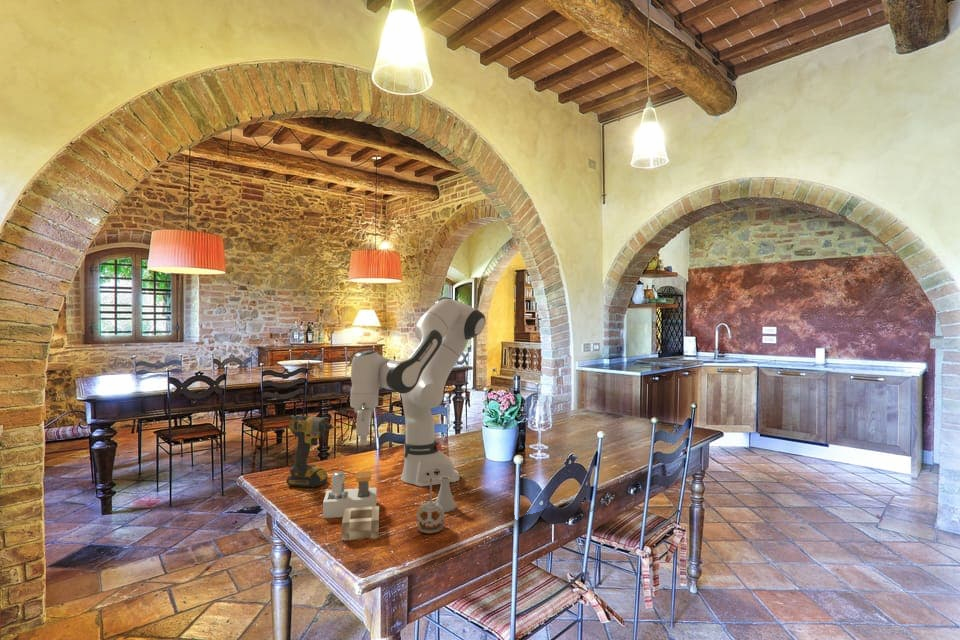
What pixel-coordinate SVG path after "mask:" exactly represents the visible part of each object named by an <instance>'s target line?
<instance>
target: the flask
mask: <svg viewBox="0 0 960 640" xmlns="http://www.w3.org/2000/svg"><path fill="white" fill-rule="evenodd" d="M440 480H441V484H440V488H439V491H438V494H437V497H436V500H435V503H439V505H441V507H442V509H443V511H444V513H449V512H452V511H453V512H454V511H455V509H456V508H457V504H456V502H455V500H454V497H453V494H452V491H451V486H450V483H449V480H450V477H445V476H444V477H441V478H440Z"/></svg>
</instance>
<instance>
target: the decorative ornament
mask: <svg viewBox="0 0 960 640" xmlns="http://www.w3.org/2000/svg"><path fill="white" fill-rule="evenodd" d="M435 502H436V500H435V501H433V485H432V478H430V485H429V501H426V502H424V503H423V504H421V505H420V506H419V508H418V510H417V512H416V522H418V523H417V525H416V529H418V530H417V531H419V532H421V533H425V534H434V533H438V532H440V531H442V530H443V529H444V528H445V523H443V522H444V521H445V512H444V511H443V509H442V507H441V505H439V503H435Z"/></svg>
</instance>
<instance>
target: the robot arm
mask: <svg viewBox="0 0 960 640" xmlns="http://www.w3.org/2000/svg"><path fill="white" fill-rule="evenodd" d="M485 325H486V315H485V314H484V313H483V312H481V310H479V309H475V308H474V307H472V306H471V305H469V304H467V303H465V302H461V301H458V300H455V299H452V298H451V297H449V296H448V297H446V296H443V297H440V298H438V299H437V300H436V301H435V303H434V304H433V305H432V306H431V307H430V308H429V309H427V311H425V312H424V313H423V314H422V315H421V316H420V318H419V319H418V320H417V322H416V323H415V326H414V331H415V332H414V333H415V336H416V337H417V339H418V340H419V342H420V343H419V344H418V346H417V347H416V348H415V349H414V350H413V352H411V355H410V356H409V357H408V358H407V359H404V360H401V361H398V360H394V359H389V358H388V357H385V356H383V355H381V354H379V352H377V350H373V349H371V350H370V349H369V350H363V351H359V352H357V353H355V354H354V355H353V357H352V360H351V365H350V380H351V388H350V398H349V401H350V402H349V403H350V408H352V409H354V411H353V412H354V413H356V436H357V437H360V445H363V446H364V445H367V442H368V437H369V435H370V430H371V429H370V428H371V421H372V414H373V413H374V412H375V408H377V407H379V391H380V390H379V389H380V388H383V389H386V390H391V391H393V392H396V393H398V394H400V396H401V400H402V407H403V415H404V420H405V441H404V444H403V455H404V464H403V468H402V474H401V477H400V480H401V481H402V482H404V483H406V484H411V485H415V486H417V487H427V486H429V487H430V478H432V486H434V485H441V480H440V478H441V477H444V476H445V477H450V480H449V484H451V483H457V482H458V481H460V473H459V472H458V470H456V469H455V468H454V463H453V461H452V459H451V458H450V457H449V456H448V455H446V454H445V453H443V451H441V450H442V448H443V447H442V444H441V443H440V442H438V441H437V440H435V420H434V417H433V415H432V410H431V409H435V408H437V407H439V406H440V404H442V402H443V399H444V388H445V385H446V383H447V380H448V378H449V376H450V374H451V372H452V370H453V369H454V367H455V366H456V364H457V362H458V361H459V360H460V358H461V356H462V354H463V352H464V351H465V349H466V347H467V345H468V342H469V340H471V339H473V338H475V337H477V336H479V335H480V334H481V333H482V332H483V330H484V328H485V327H486V326H485ZM456 481H457V482H456ZM450 482H451V483H450Z"/></svg>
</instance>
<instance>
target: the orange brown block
mask: <svg viewBox="0 0 960 640" xmlns="http://www.w3.org/2000/svg"><path fill="white" fill-rule="evenodd" d="M371 477H372V471H371V470H369V471H357V472H356V479H355V482H357V483H358V488H359V497H368V495H369V488H370V482H371V480H372V478H371Z"/></svg>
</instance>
